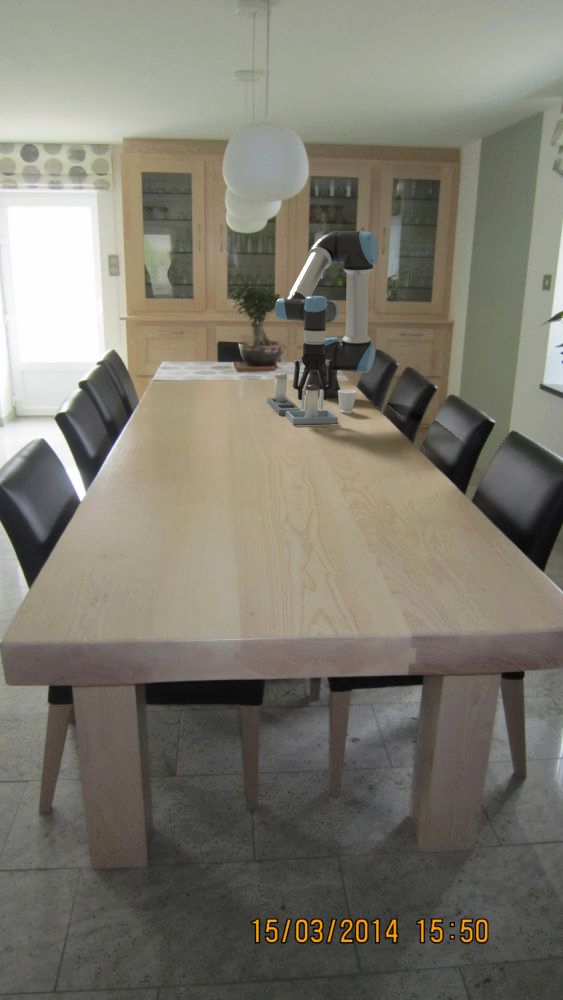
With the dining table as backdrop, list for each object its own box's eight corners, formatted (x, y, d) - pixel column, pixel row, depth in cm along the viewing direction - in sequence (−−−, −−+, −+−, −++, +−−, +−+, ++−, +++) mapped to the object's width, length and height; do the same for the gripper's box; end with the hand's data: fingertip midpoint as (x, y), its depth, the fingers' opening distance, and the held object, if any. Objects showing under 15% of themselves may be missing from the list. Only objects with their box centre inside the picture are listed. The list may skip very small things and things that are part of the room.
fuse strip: (287, 403, 294) (287, 397, 293) (300, 416, 273) (300, 409, 272) (267, 404, 292) (267, 397, 291) (278, 416, 272) (279, 409, 271)
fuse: (284, 404, 290) (285, 373, 286) (287, 406, 286) (288, 375, 282) (273, 404, 289) (273, 373, 285) (275, 406, 285) (276, 375, 281)
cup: (338, 414, 278) (339, 392, 275) (333, 408, 287) (334, 387, 284) (357, 414, 278) (358, 393, 276) (351, 408, 288) (353, 387, 285)
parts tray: (328, 416, 274) (328, 409, 273) (337, 424, 262) (337, 417, 262) (285, 417, 270) (285, 410, 269) (293, 425, 259) (293, 418, 258)
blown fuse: (315, 417, 269) (317, 384, 265) (318, 420, 264) (320, 387, 260) (303, 418, 268) (304, 384, 264) (306, 420, 264) (307, 387, 260)
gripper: (337, 341, 263) (334, 406, 270) (284, 341, 259) (282, 407, 266) (344, 344, 256) (340, 410, 263) (289, 344, 252) (287, 411, 259)
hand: (311, 408), depth 265 cm, fingers open, 6 cm apart
